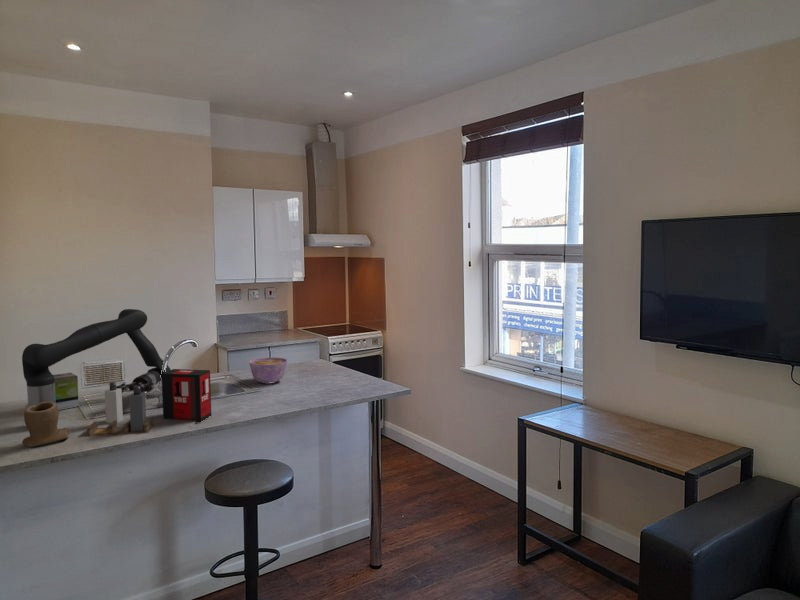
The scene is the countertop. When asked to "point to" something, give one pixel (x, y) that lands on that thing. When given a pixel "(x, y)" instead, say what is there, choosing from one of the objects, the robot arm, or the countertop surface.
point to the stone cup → (43, 424)
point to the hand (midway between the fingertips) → (127, 392)
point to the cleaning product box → (186, 394)
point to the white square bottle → (113, 403)
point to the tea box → (66, 390)
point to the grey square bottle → (137, 410)
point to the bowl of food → (268, 369)
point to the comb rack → (116, 429)
